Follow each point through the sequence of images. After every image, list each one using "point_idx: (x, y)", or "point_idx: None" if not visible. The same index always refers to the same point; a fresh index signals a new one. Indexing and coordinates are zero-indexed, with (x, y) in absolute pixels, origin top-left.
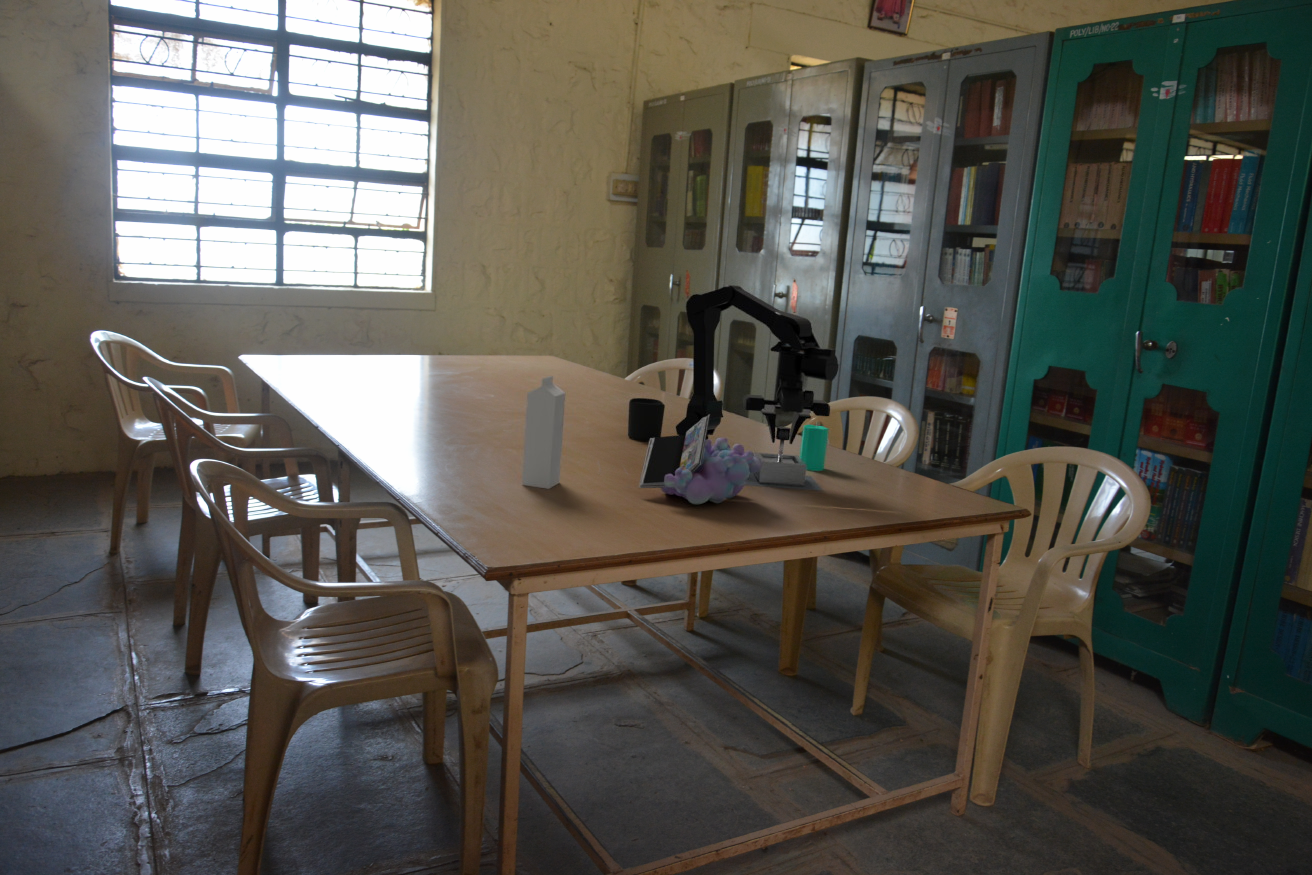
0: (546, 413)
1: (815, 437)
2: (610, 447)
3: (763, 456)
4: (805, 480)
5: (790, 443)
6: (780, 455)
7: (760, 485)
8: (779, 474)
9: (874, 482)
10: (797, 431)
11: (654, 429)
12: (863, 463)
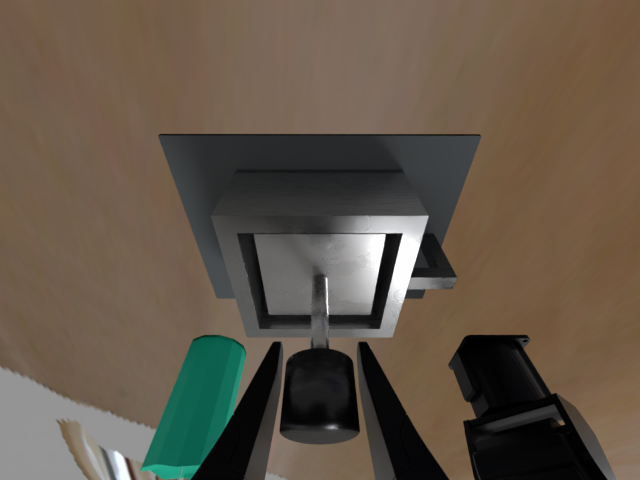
0: None
1: (185, 430)
2: (617, 382)
3: (364, 321)
4: None
5: (279, 343)
6: (321, 294)
7: (406, 146)
8: (333, 189)
9: (43, 291)
10: (237, 410)
11: None
12: (119, 395)
